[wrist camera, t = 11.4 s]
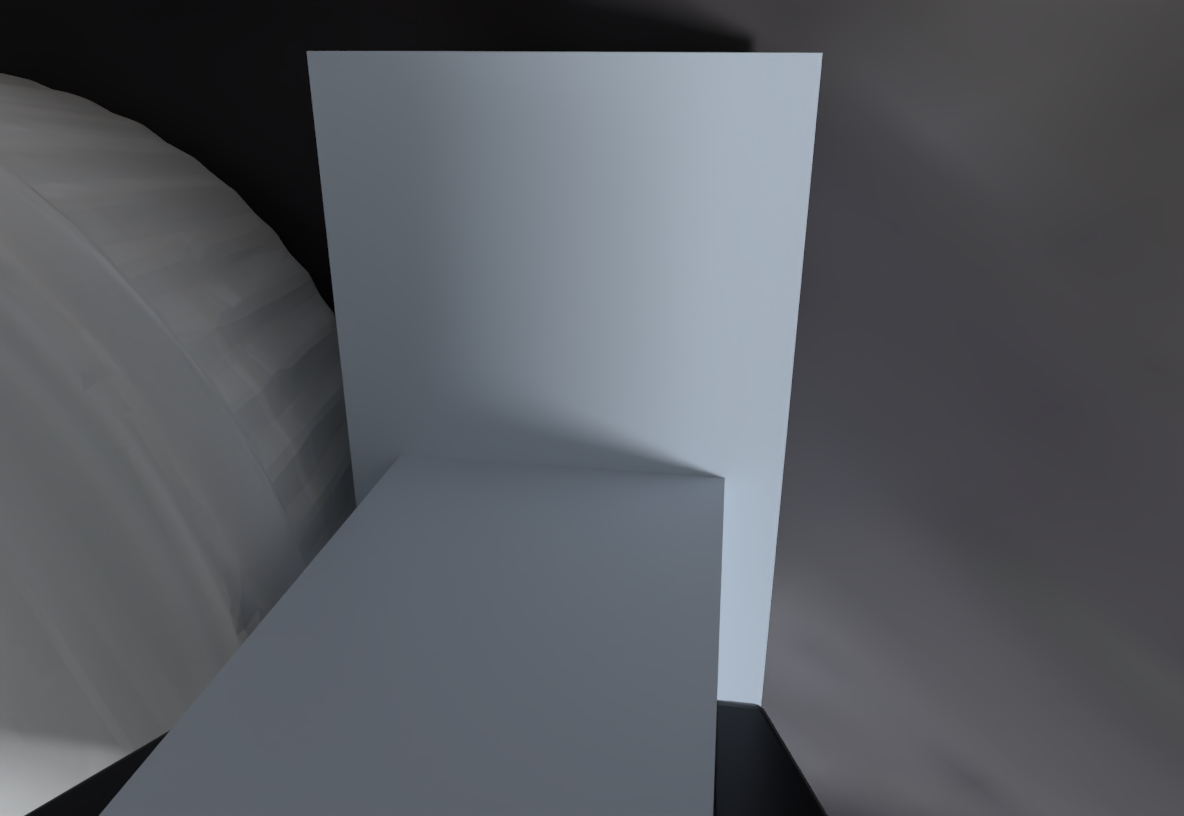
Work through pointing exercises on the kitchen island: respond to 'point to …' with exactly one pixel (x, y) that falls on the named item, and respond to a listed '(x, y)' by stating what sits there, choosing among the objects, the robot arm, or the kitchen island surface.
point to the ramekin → (143, 435)
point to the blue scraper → (531, 442)
